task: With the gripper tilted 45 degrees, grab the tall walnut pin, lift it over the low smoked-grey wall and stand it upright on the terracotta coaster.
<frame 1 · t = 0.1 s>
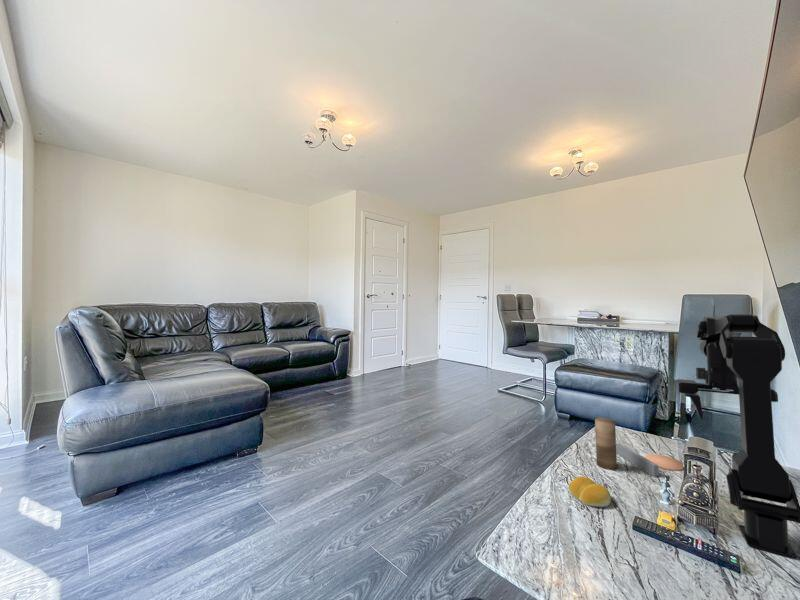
hand: (724, 421, 88), 15 cm above the table, tool pointing down, fingers open, 9 cm apart
bread roll: (589, 498, 81), on the table
walnut pin: (606, 465, 96), on the table
terracotta coaster: (664, 462, 96), on the table
grey acrylic wall: (635, 464, 96), on the table
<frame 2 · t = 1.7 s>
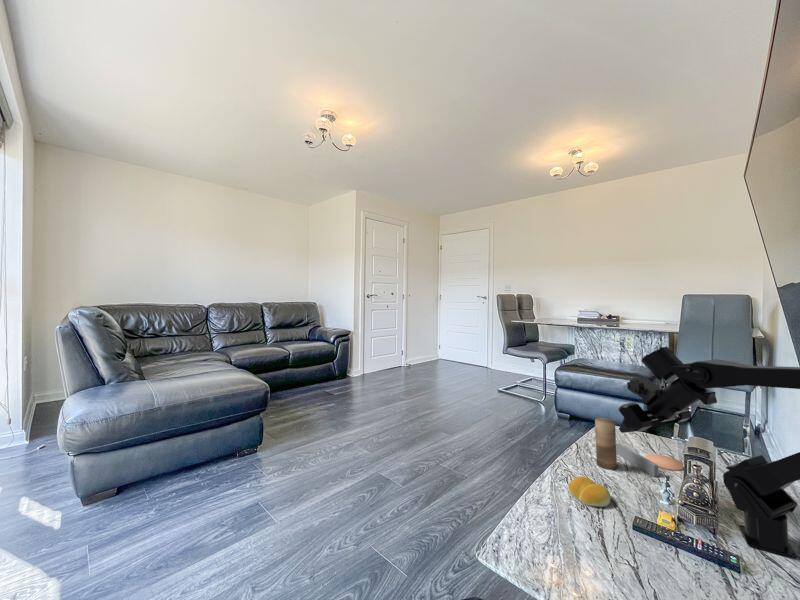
hand: (632, 428, 88), 13 cm above the table, tool tilted 45°, fingers open, 9 cm apart
nothing on the table moved.
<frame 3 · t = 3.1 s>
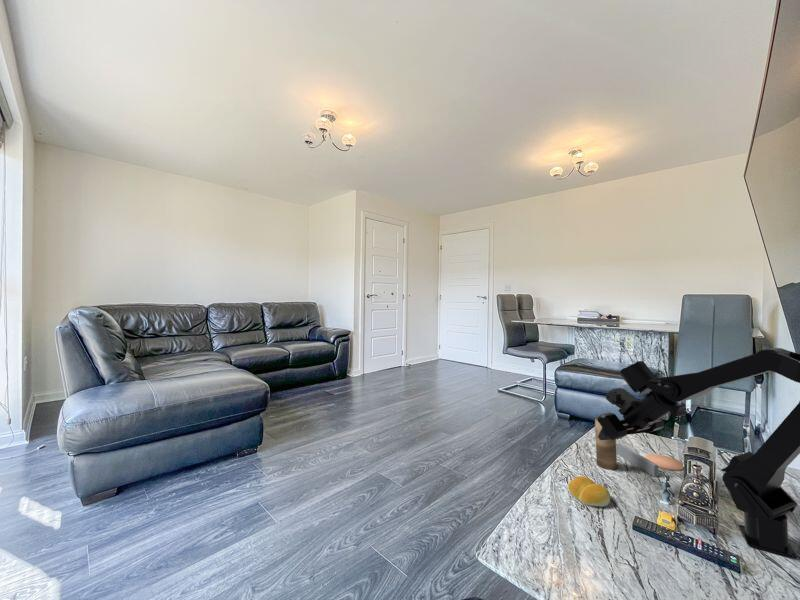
hand: (611, 435, 94), 9 cm above the table, tool tilted 45°, fingers open, 9 cm apart
nothing on the table moved.
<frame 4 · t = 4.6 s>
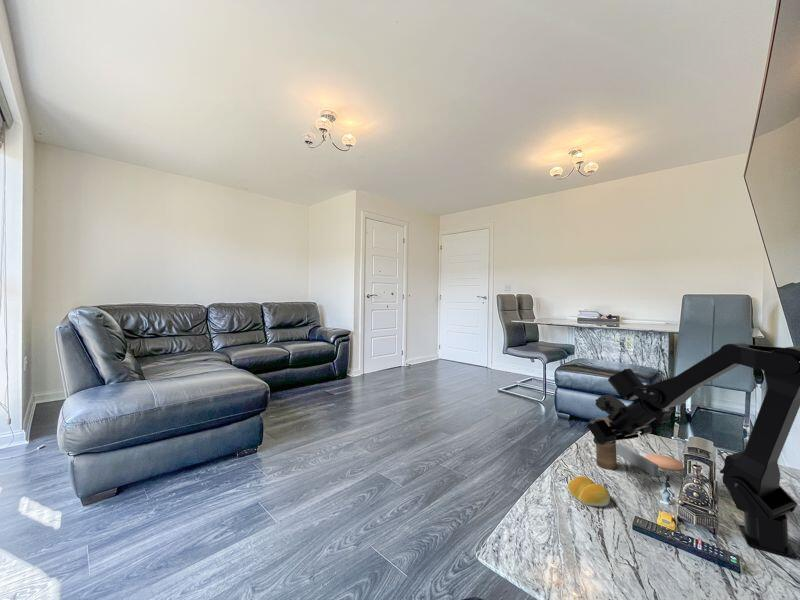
hand: (601, 440, 97), 7 cm above the table, tool tilted 45°, fingers closed on walnut pin, 5 cm apart
walnut pin: (606, 465, 96), on the table, touching gripper
everything else where it was.
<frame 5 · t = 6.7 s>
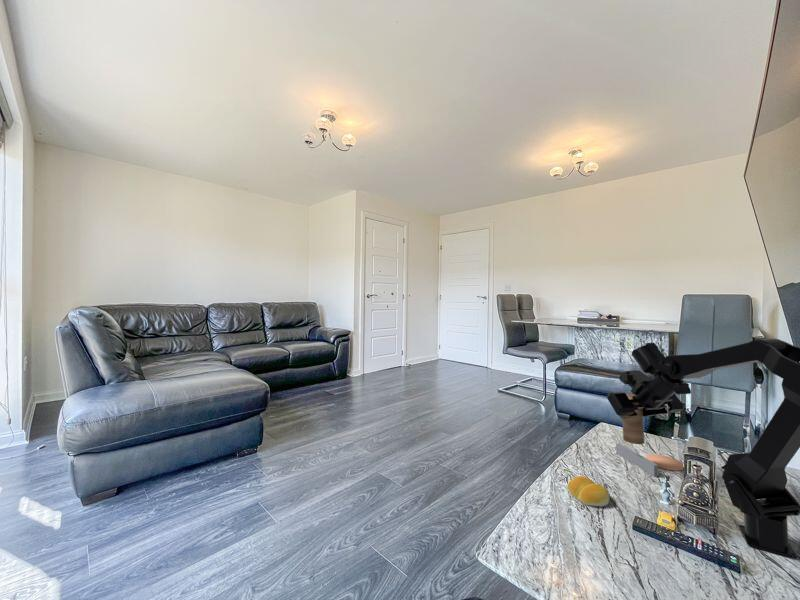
hand: (629, 416, 98), 13 cm above the table, tool tilted 45°, fingers closed on walnut pin, 5 cm apart
walnut pin: (633, 440, 96), point 7 cm above the table, touching gripper
everything else where it was.
when the fingers open (8 cm above the table, at t = 9.1 s): walnut pin stays where it is, resting on terracotta coaster.
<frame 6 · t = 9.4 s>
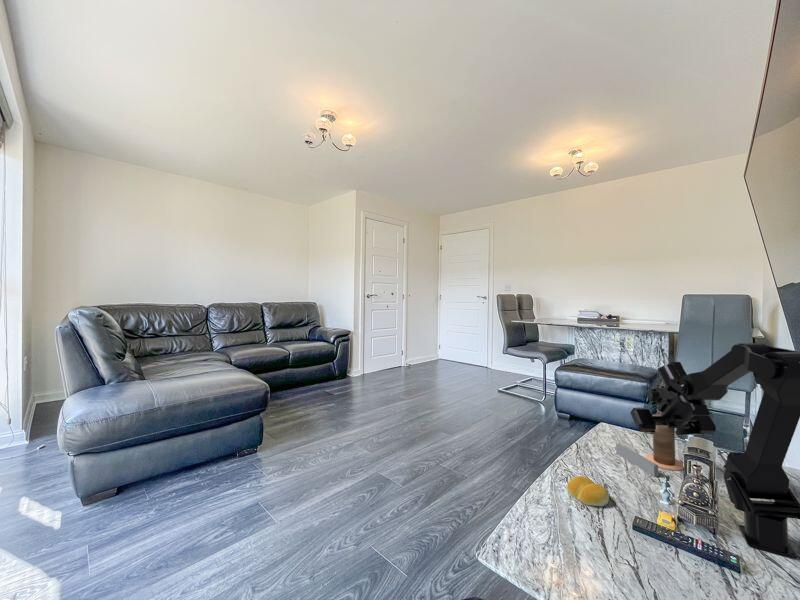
hand: (660, 433, 98), 8 cm above the table, tool tilted 45°, fingers open, 8 cm apart
walnut pin: (664, 461, 96), resting on terracotta coaster
everything else where it was.
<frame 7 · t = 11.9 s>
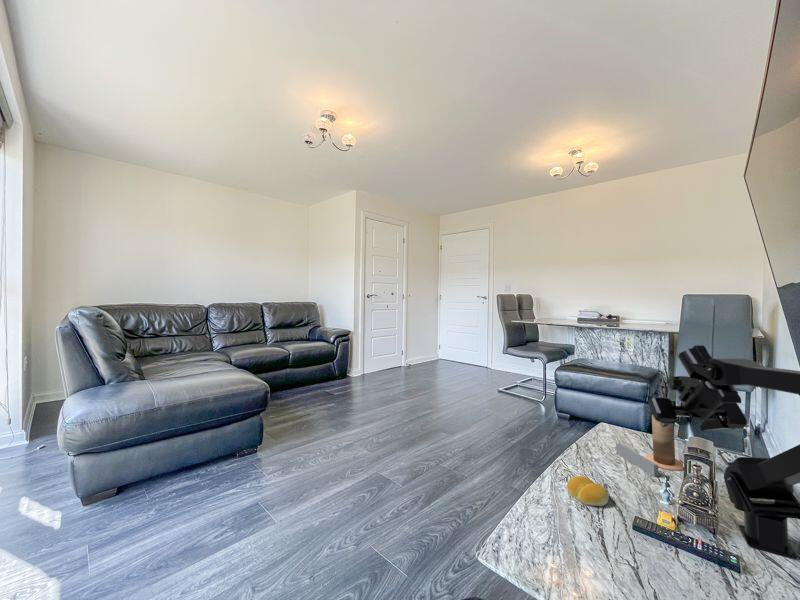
hand: (681, 427, 88), 13 cm above the table, tool tilted 45°, fingers open, 9 cm apart
nothing on the table moved.
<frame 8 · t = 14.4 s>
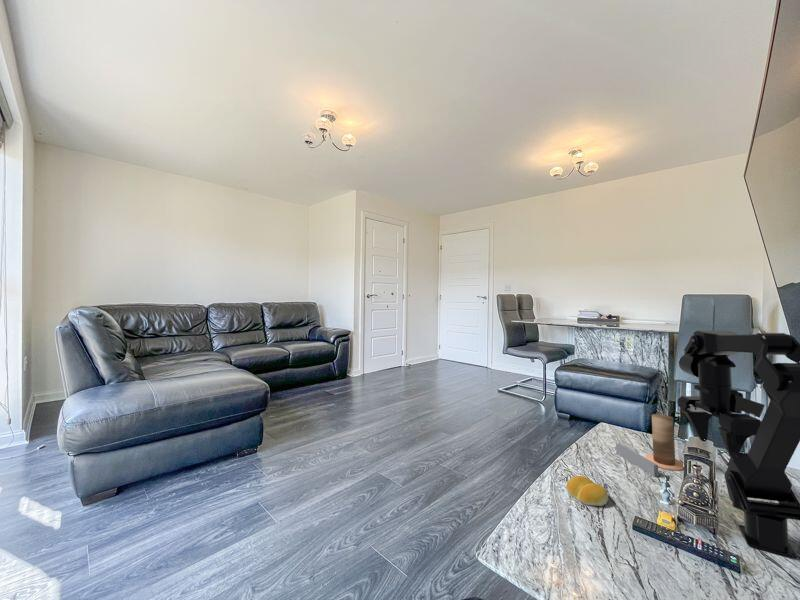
hand: (717, 449, 78), 12 cm above the table, tool pointing down, fingers open, 9 cm apart
nothing on the table moved.
at the end: walnut pin 0.0 cm from the terracotta coaster (horizontally); walnut pin tilted 0°; the gripper is holding nothing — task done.
